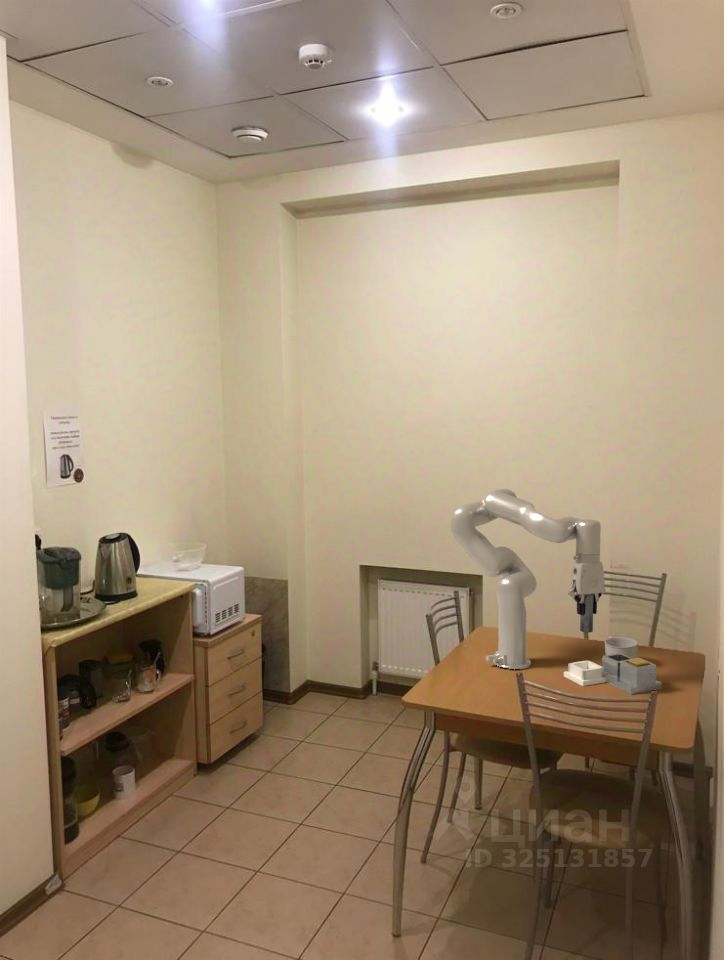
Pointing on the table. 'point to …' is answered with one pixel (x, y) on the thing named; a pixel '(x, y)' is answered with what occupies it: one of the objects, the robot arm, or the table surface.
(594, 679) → the white square socket
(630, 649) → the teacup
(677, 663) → the table surface
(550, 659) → the table surface
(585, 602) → the blue-grey cylinder
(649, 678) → the block
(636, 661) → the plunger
